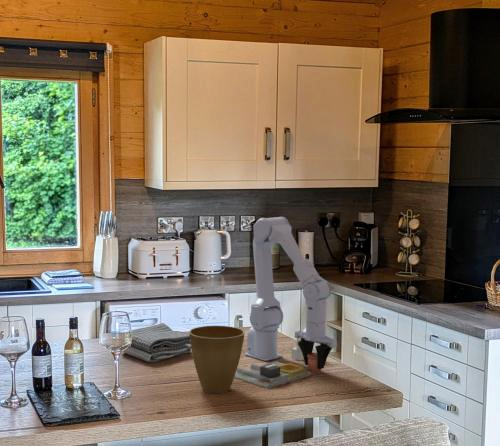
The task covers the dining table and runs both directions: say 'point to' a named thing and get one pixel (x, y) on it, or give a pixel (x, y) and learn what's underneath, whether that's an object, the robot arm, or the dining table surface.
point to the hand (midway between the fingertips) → (314, 366)
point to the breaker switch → (270, 370)
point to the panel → (286, 375)
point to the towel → (158, 343)
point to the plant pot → (216, 355)
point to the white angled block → (297, 351)
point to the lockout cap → (313, 363)
